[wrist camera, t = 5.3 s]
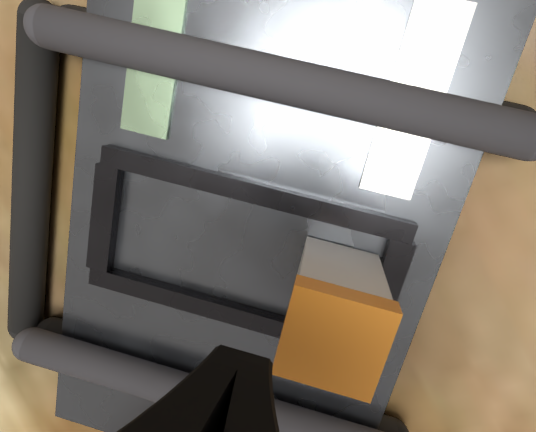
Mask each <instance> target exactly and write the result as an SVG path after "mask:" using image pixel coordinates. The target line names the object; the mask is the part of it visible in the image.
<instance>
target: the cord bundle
mask: <svg viewBox="0 0 536 432" xmlns="http://www.w3.org/2000/svg"><path fill="white" fill-rule="evenodd" d="M86 10H87V8H85V7H80V6H76V5H69V4H67V5H62V6H55V5H52V4H51V3H50V2H49V1H47V0H23V1H22V2H21V3H20V5H19V7H18V10H17V30H16V63H15V96H14V130H13V163H12V196H11V230H10V263H9V296H8V332H9V334H10V335H11V337H12V338H15V337H16V335H17V334H18V333H20V332H21V331H23V330H25V329H27V328H32V327H37V325H38V324H39V323H40V322H41V321H43V318H44V301H45V285H46V268H47V252H48V235H49V218H50V202H51V185H52V169H53V152H54V136H55V119H56V103H57V86H58V70H59V53H60V52H61V53H65V54H69V55H73V56H78V57H82V58H86V59H91V60H95V61H99V62H103V63H108V64H112V65H116V66H120V67H125V68H129V69H133V70H138V71H142V72H146V73H150V74H155V75H159V76H163V77H167V78H172V79H176V80H180V81H185V82H189V83H193V84H197V85H202V86H206V87H210V88H214V89H219V90H223V91H227V92H232V93H236V94H240V95H244V96H249V97H253V98H257V99H261V100H266V101H270V102H274V103H279V104H283V105H287V106H291V107H296V108H300V109H304V110H308V111H313V112H317V113H321V114H325V115H330V116H334V117H338V118H343V119H347V120H351V121H355V122H360V123H364V124H368V125H372V126H377V127H381V128H385V129H390V130H394V131H398V132H402V133H407V134H411V135H415V136H419V137H424V138H428V139H432V140H437V141H441V142H445V143H449V144H454V145H458V146H462V147H466V148H471V149H475V150H479V151H484V152H488V153H492V154H496V155H501V156H505V157H509V158H513V159H518V160H522V161H536V111H535V110H534V109H532V108H531V107H528V106H525V105H521V104H517V103H512V102H508V101H503V103H502V105H499V104H494V103H490V102H485V101H481V100H476V99H472V98H467V97H463V96H458V95H454V94H449V93H445V92H440V91H436V90H431V89H427V88H423V87H418V86H414V85H409V84H405V83H400V82H396V81H391V80H387V79H382V78H378V77H373V76H369V75H364V74H360V73H355V72H351V71H346V70H342V69H337V68H333V67H328V66H324V65H320V64H315V63H311V62H306V61H302V60H297V59H293V58H288V57H284V56H279V55H275V54H270V53H266V52H261V51H257V50H252V49H248V48H243V47H239V46H234V45H230V44H225V43H221V42H217V41H212V40H208V39H203V38H199V37H194V36H190V35H185V34H181V33H176V32H172V31H167V30H163V29H158V28H154V27H149V26H145V25H140V24H136V23H131V22H127V21H122V20H118V19H114V18H109V17H105V16H100V15H96V14H91V13H87V12H86Z"/></svg>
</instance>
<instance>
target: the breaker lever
mask: <svg viewBox="0 0 536 432" xmlns="http://www.w3.org/2000/svg"><path fill="white" fill-rule="evenodd" d="M402 316H403V313H402V310H401V307H400V304H399V302H398V301H394V300H393V298H392V295H391V292H390V289H389V286H388V282H387V279H386V276H385V273H384V270H383V267H382V264H381V261H380V258H379V255H377V254H373V253H369V252H365V251H362V250H358V249H354V248H350V247H346V246H343V245H339V244H335V243H331V242H327V241H324V240H320V239H316V238H312V237H308V236H307V238H306V242H305V246H304V249H303V253H302V257H301V261H300V264H299V268H298V272H297V275H296V279H295V283H294V287H293V290H292V294H291V298H290V301H289V305H288V309H287V313H286V316H285V320H284V324H283V328H282V331H281V335H280V339H279V343H278V346H277V350H276V354H275V358H274V362H273V369H272V375H275V376H278V377H282V378H285V379H289V380H292V381H295V382H299V383H302V384H306V385H309V386H312V387H316V388H319V389H322V390H326V391H329V392H333V393H336V394H339V395H343V396H346V397H350V398H353V399H356V400H360V401H363V402H367V403H370V404H371V401H372V398H373V395H374V393H375V390H376V387H377V384H378V382H379V379H380V376H381V374H382V371H383V368H384V365H385V363H386V360H387V357H388V354H389V352H390V349H391V346H392V344H393V341H394V338H395V335H396V333H397V330H398V327H399V325H400V322H401V319H402Z"/></svg>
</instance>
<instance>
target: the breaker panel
mask: <svg viewBox="0 0 536 432" xmlns="http://www.w3.org/2000/svg"><path fill="white" fill-rule="evenodd" d="M86 12H87V13H91V14H96V15H100V16H105V17H109V18H114V19H118V20H122V21H127V22H131V23H136V24H140V25H145V26H149V27H154V28H158V29H163V30H167V31H172V32H176V33H181V34H185V35H190V36H194V37H199V38H203V39H208V40H212V41H217V42H221V43H225V44H230V45H234V46H239V47H243V48H248V49H252V50H257V51H261V52H266V53H270V54H275V55H279V56H284V57H288V58H293V59H297V60H302V61H306V62H311V63H315V64H320V65H324V66H328V67H333V68H337V69H342V70H346V71H351V72H355V73H360V74H364V75H369V76H373V77H378V78H382V79H387V80H391V81H396V82H400V83H405V84H409V85H414V86H418V87H423V88H427V89H431V90H436V91H440V92H445V93H449V94H454V95H458V96H463V97H467V98H472V99H476V100H481V101H485V102H490V103H494V104H499V105H502V103H503V101H504V98H505V95H506V93H507V90H508V87H509V85H510V82H511V80H512V77H513V74H514V72H515V69H516V67H517V64H518V61H519V59H520V56H521V54H522V51H523V48H524V46H525V43H526V40H527V38H528V35H529V33H530V30H531V27H532V25H533V22H534V20H535V17H536V0H87V10H86ZM483 153H484V151H479V150H475V149H471V148H466V147H462V146H458V145H454V144H449V143H445V142H441V141H437V140H432V139H428V138H424V137H419V136H415V135H411V134H407V133H402V132H398V131H394V130H390V129H385V128H381V127H377V126H372V125H368V124H364V123H360V122H355V121H351V120H347V119H343V118H338V117H334V116H330V115H325V114H321V113H317V112H313V111H308V110H304V109H300V108H296V107H291V106H287V105H283V104H279V103H274V102H270V101H266V100H261V99H257V98H253V97H249V96H244V95H240V94H236V93H232V92H227V91H223V90H219V89H214V88H210V87H206V86H202V85H197V84H193V83H189V82H185V81H180V80H176V79H172V78H167V77H163V76H159V75H155V74H150V73H146V72H142V71H138V70H133V69H129V68H125V67H120V66H116V65H112V64H108V63H103V62H99V61H95V60H91V59H86V58H83V62H82V75H81V88H80V101H79V114H78V127H77V140H76V153H75V166H74V179H73V192H72V205H71V218H70V231H69V244H68V257H67V270H66V283H65V296H64V309H63V322H62V335H64V336H67V337H71V338H74V339H77V340H81V341H84V342H87V343H91V344H94V345H97V346H101V347H104V348H107V349H111V350H114V351H117V352H121V353H124V354H127V355H131V356H134V357H137V358H141V359H144V360H147V361H151V362H154V363H157V364H161V365H164V366H167V367H171V368H174V369H177V370H181V371H184V372H187V373H191V372H192V371H193V370H194V369H195V368H196V367H197V366H198V365H199V364H200V363H201V362H202V361H203V360H204V359H205V358H206V357H207V356H208V355H209V354H210V353H211V352H212V350H213V349H214V348H215V347H217V346H219V345H224V346H228V347H231V348H235V349H238V350H242V351H245V352H249V353H252V354H256V355H259V356H262V357H266V358H269V359H270V360H271V362H272V363H273V362H274V358H275V354H276V350H277V346H278V343H279V339H280V335H281V331H282V328H283V324H284V320H285V316H286V313H287V309H288V305H289V301H290V298H291V294H292V290H293V287H294V283H295V279H296V275H297V272H298V268H299V264H300V261H301V257H302V253H303V249H304V246H305V242H306V238H307V236H308V237H312V238H316V239H320V240H324V241H327V242H331V243H335V244H339V245H343V246H346V247H350V248H354V249H358V250H362V251H365V252H369V253H373V254H377V255H379V258H380V261H381V264H382V267H383V270H384V273H385V276H386V279H387V282H388V286H389V289H390V292H391V295H392V298H393V300H394V301H398V302H399V304H400V307H401V310H402V313H403V316H402V319H401V322H400V325H399V327H398V330H397V333H396V335H395V338H394V341H393V344H392V346H391V349H390V352H389V354H388V357H387V360H386V363H385V365H384V368H383V371H382V374H381V376H380V379H379V382H378V384H377V387H376V390H375V393H374V395H373V398H372V401H371V404H370V403H367V402H363V401H360V400H356V399H353V398H350V397H346V396H343V395H339V394H336V393H333V392H329V391H326V390H322V389H319V388H316V387H312V386H309V385H306V384H302V383H299V382H295V381H292V380H289V379H285V378H282V377H278V376H275V375H272V382H273V394H274V399H277V400H280V401H284V402H287V403H290V404H294V405H297V406H300V407H304V408H307V409H310V410H314V411H317V412H320V413H324V414H327V415H330V416H334V417H337V418H340V419H344V420H347V421H350V422H354V423H357V424H360V425H364V426H367V427H370V428H374V429H377V430H378V427H379V425H380V422H381V419H382V417H383V414H384V411H385V409H386V406H387V404H388V401H389V398H390V396H391V393H392V391H393V388H394V385H395V383H396V380H397V378H398V375H399V372H400V370H401V367H402V364H403V362H404V359H405V357H406V354H407V351H408V349H409V346H410V344H411V341H412V338H413V336H414V333H415V330H416V328H417V325H418V323H419V320H420V317H421V315H422V312H423V310H424V307H425V304H426V302H427V299H428V297H429V294H430V291H431V289H432V286H433V283H434V281H435V278H436V276H437V273H438V270H439V268H440V265H441V263H442V260H443V257H444V255H445V252H446V249H447V247H448V244H449V242H450V239H451V236H452V234H453V231H454V229H455V226H456V223H457V221H458V218H459V216H460V213H461V210H462V208H463V205H464V202H465V200H466V197H467V195H468V192H469V189H470V187H471V184H472V182H473V179H474V176H475V174H476V171H477V168H478V166H479V163H480V161H481V158H482V155H483ZM154 403H156V402H153V401H149V400H146V399H143V398H140V397H137V396H133V395H130V394H127V393H124V392H120V391H117V390H114V389H111V388H107V387H104V386H101V385H98V384H95V383H91V382H88V381H85V380H82V379H78V378H75V377H72V376H69V375H65V374H62V373H59V374H58V387H57V400H56V413H55V416H57V417H60V418H63V419H67V420H70V421H73V422H76V423H79V424H82V425H85V426H88V427H92V428H95V429H98V430H101V431H104V432H117V431H118V430H119V429H121V428H122V427H124V426H125V425H127V424H128V423H129V422H131V421H132V420H133V419H135V418H136V417H137V416H139V415H140V414H141V413H143V412H144V411H145V410H146V409H148V408H149V407H150V406H152V405H153V404H154Z"/></svg>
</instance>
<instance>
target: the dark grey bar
mask: <svg viewBox="0 0 536 432" xmlns="http://www.w3.org/2000/svg"><path fill="white" fill-rule="evenodd" d="M62 322H63V319H61V318H57V317H50V318H47V319H45V320H43V321H41V322H40V323H39V324H38V325H37V327H32V328H27V329H25V330H23V331H21V332H20V333H18V334H17V335H16V337H15V338H14V340H13V343H12V351H13V354H14V356H15V357H16V358H17V359H19V360H21V361H23V362H27V363H30V364H33V365H36V366H40V367H43V368H46V369H49V370H53V371H56V372H59V373H62V374H65V375H69V376H72V377H75V378H78V379H82V380H85V381H88V382H91V383H95V384H98V385H101V386H104V387H107V388H111V389H114V390H117V391H120V392H124V393H127V394H130V395H133V396H137V397H140V398H143V399H146V400H149V401H153V402H157V401H158V400H159V399H161V398H162V397H163V396H164V395H166V394H167V393H168V392H169V391H170V390H171V389H173V388H174V387H175V386H176V385H177V384H178V383H179V382H181V381H182V380H183V379H184V378H185V377H186V376H187V375H189V374H190V373H187V372H184V371H181V370H177V369H174V368H171V367H167V366H164V365H161V364H157V363H154V362H151V361H147V360H144V359H141V358H137V357H134V356H131V355H127V354H124V353H121V352H117V351H114V350H111V349H107V348H104V347H101V346H97V345H94V344H91V343H87V342H84V341H81V340H77V339H74V338H71V337H67V336H64V335H62ZM274 403H275V409H276V416H277V421H278V426H279V432H409V431H408V429H407V427H406V426H405V424H404V423H403V422H402V421H401V420H399V419H397V418H395V417H391V416H388V415H385V414H383V417H382V419H381V422H380V425H379V427H378V430H377V429H374V428H370V427H367V426H364V425H360V424H357V423H354V422H350V421H347V420H344V419H340V418H337V417H334V416H330V415H327V414H324V413H320V412H317V411H314V410H310V409H307V408H304V407H300V406H297V405H294V404H290V403H287V402H284V401H280V400H277V399H274Z"/></svg>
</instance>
